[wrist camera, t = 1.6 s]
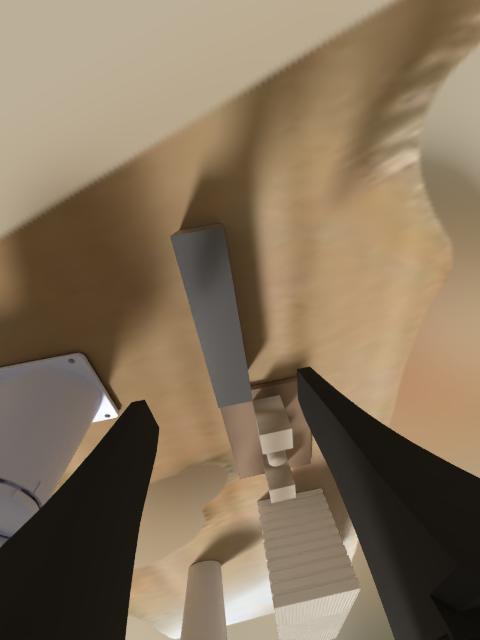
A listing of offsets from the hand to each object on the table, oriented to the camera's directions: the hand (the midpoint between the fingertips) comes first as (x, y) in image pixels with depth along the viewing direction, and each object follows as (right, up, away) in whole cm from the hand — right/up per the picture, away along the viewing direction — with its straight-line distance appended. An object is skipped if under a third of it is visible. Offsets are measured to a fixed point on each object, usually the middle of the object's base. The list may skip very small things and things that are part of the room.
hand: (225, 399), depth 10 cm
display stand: (+4, -10, +16) cm, 20 cm away
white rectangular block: (+10, -38, +32) cm, 51 cm away
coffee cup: (-7, -47, +34) cm, 59 cm away
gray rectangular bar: (-1, +4, +9) cm, 10 cm away
